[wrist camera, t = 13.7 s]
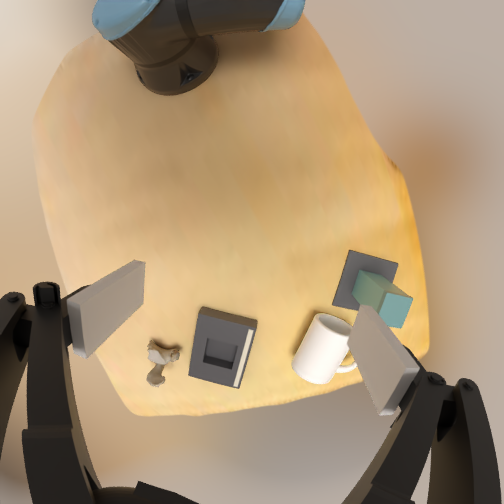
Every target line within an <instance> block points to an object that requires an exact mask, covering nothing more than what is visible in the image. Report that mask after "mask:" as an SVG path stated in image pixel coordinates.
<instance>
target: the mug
mask: <svg viewBox="0 0 504 504" xmlns="http://www.w3.org/2000/svg"><path fill="white" fill-rule="evenodd" d="M352 328H353V327H352V326H351V325H350V324H348V323H347V322H345V321H344V320H342V319H340V318H338V317H335V316H333V315H329V314H325V313H318V314H316V315H315V316H314V318H313V321H312V323H311V325H310V327H309V329H308V331H307V333H306V335H305V337H304V339H303V341H302V343H301V344H300V346H299V348H298V350H297V352H296V354H295V356H294V358H293V360H292V363H291V364H292V368H293V370H294V371H295V372H296V373H297V374H298V375H299V376H300V377H301V378H303V379H305V380H306V381H309V382H311V383H315V384H326V383H328V382H329V381H330V380H331V379H332V377H333V376H334V374H335V372H336V373H345V372H349V371H351V370H353V369H355V368H356V367H357V364H356V362H355V361H354V362H353V363H352V364H350V365H340V364H341V363H342V361H343V359H344V357H345V356H346V354H347V352H348V351H349V347H348V345H347V341H348V339H349V336H350V333H351V330H352Z"/></svg>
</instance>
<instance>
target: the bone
mask: <svg viewBox="0 0 504 504" xmlns="http://www.w3.org/2000/svg"><path fill="white" fill-rule="evenodd" d="M147 347H149V349H148V352H149V356H148V359H149V360H150V361H152V362H154V363H157V365H156V366H155V367H154V368H153V369H152V370H151V371H150V372H149V373H148V375H147V381H148V382H149V384H150V385H151V386H155V387H159V386H160V385H161V384H163V383H164V382H165V377H164V376H161V373H162V371H163V368H164V366H165V364H167V363H168V362H169V361H171V362H174V361H176V360H178V359H179V356H180V353H179V352H178V351H179V350H178V349H169V350H167V349H163V348H161V347H159V346H157V345H156V344H155V343H154V342H153V341H152V340H151V341H150V343H149V345H148V346H147Z"/></svg>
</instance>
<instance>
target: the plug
mask: <svg viewBox="0 0 504 504" xmlns="http://www.w3.org/2000/svg"><path fill="white" fill-rule="evenodd" d="M352 295H353V296H354V298H355V299H356V300H357V301H358V303H359V304H360V305H368V306H372V307H373V309H374V310H375V311H376V312H377V313H378V315H379V316H380V317H381V318H382V320H383V321H384V322H385V323H386V325H387V326H389V327H395V328H402V326H403V323H404V321H405V318H406V316H407V314H408V311H409V309H410V306H411V303H412V301H413V298H412V297H411V296H408V295H407V294H406V293H405V292H403V291H402V290H401V289H399V288H398V287H397V286H395V285H394V284H393V283H391V282H390V281H389V280H387V279H386V278H384V277H383V276H382V275H379V274H375V273H371V272H367V271H363V270H359V273H358V276H357V279H356V282H355V285H354V288H353V291H352Z"/></svg>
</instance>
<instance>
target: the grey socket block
mask: <svg viewBox="0 0 504 504" xmlns="http://www.w3.org/2000/svg"><path fill="white" fill-rule="evenodd" d="M256 329H257V320H253V319H249V318H245V317H241V316H237V315H233V314H229V313H225V312H221V311H217V310H213V309H210V308H206V307H202V308H201V310H200V312H199V313H198V319H197V325H196V331H195V337H194V343H193V349H192V355H191V361H190V368H189V374H188V376H192V377H195V378H199V379H202V380H206V381H209V382H213V383H217V384H221V385H225V386H229V387H234V388H238V389H239V387H240V384H241V381H242V377H243V374H244V371H245V367H246V364H247V360H248V357H249V353H250V350H251V346H252V343H253V339H254V336H255V332H256Z"/></svg>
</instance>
